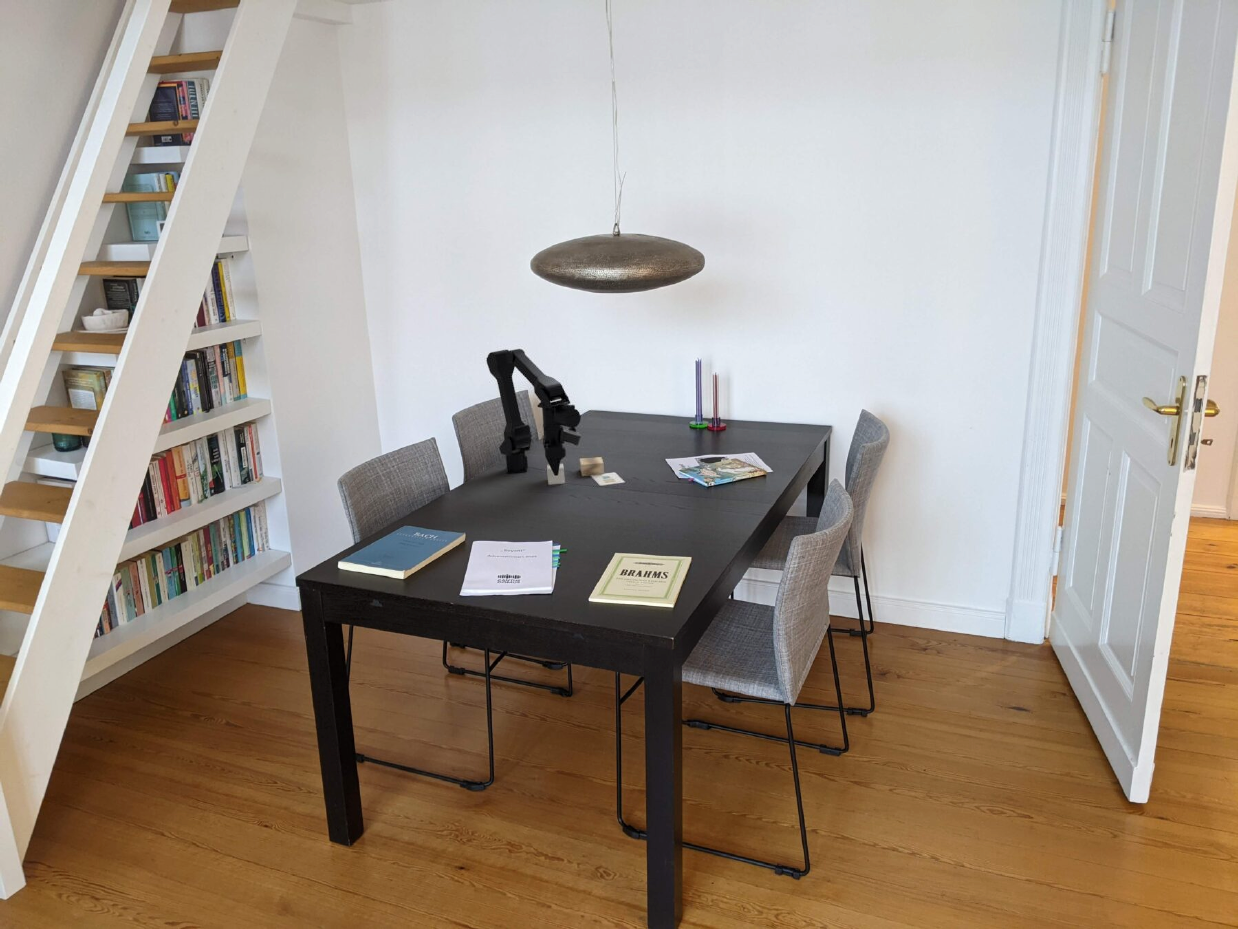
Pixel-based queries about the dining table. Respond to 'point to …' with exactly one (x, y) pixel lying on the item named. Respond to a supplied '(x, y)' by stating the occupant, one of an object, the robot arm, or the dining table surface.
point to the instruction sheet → (607, 479)
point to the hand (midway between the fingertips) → (555, 471)
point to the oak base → (591, 466)
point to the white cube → (555, 479)
